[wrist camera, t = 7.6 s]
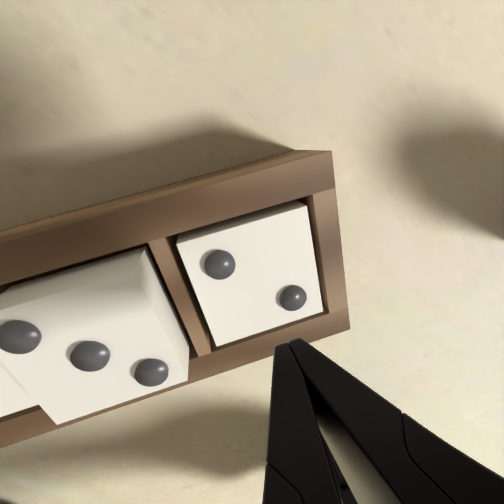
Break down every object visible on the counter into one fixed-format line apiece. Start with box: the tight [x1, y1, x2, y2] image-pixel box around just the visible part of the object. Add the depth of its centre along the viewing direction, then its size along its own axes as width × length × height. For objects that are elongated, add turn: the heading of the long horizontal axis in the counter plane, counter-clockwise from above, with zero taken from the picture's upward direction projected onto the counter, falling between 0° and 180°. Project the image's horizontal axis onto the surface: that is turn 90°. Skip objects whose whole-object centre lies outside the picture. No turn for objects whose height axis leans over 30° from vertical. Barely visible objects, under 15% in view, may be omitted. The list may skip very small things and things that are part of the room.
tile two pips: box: [176, 200, 323, 346], centre depth 14 cm, size 6×6×3 cm
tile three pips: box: [0, 247, 189, 425], centre depth 12 cm, size 6×6×3 cm
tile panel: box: [0, 150, 350, 448], centre depth 14 cm, size 10×24×4 cm, turn 103°
